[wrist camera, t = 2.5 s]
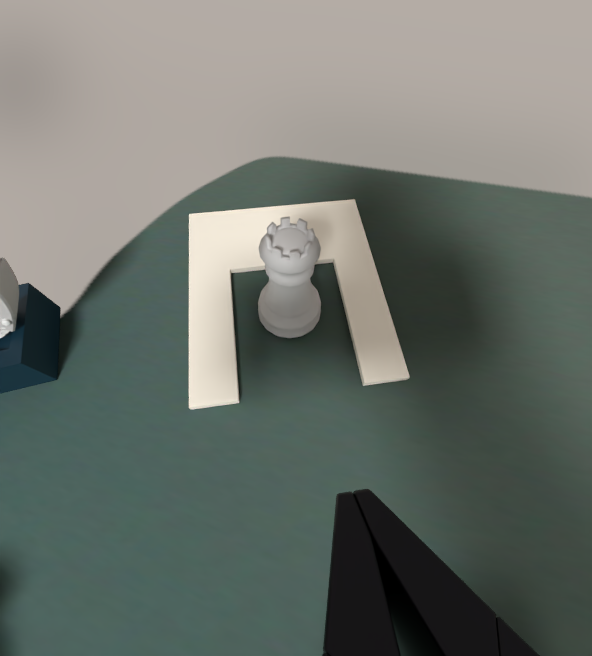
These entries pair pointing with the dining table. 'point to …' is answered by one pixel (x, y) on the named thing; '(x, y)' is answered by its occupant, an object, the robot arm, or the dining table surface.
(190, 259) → the cream u-shaped flat bracket
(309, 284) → the rook chess piece
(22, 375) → the watch
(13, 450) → the dining table surface
